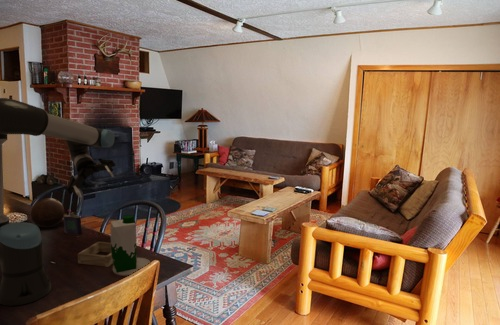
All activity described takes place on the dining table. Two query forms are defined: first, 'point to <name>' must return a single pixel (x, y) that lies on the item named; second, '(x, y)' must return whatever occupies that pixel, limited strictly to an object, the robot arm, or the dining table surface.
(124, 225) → the soya milk
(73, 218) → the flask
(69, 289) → the dining table surface
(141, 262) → the pad
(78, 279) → the dining table surface
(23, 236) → the robot arm
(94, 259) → the shallow beige tray
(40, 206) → the wooden sphere
